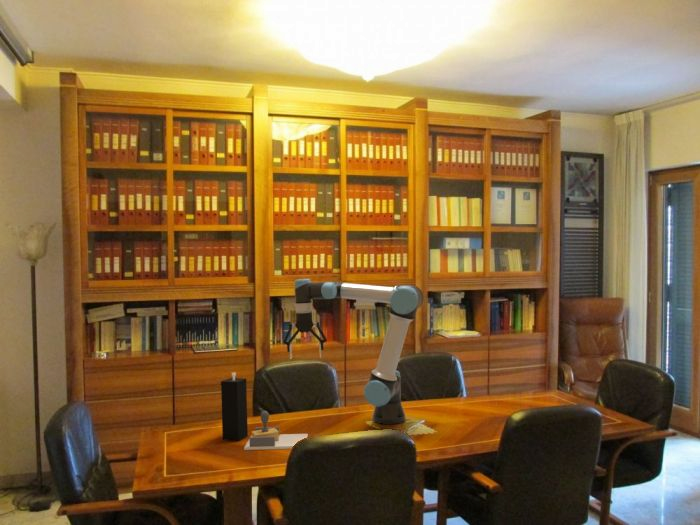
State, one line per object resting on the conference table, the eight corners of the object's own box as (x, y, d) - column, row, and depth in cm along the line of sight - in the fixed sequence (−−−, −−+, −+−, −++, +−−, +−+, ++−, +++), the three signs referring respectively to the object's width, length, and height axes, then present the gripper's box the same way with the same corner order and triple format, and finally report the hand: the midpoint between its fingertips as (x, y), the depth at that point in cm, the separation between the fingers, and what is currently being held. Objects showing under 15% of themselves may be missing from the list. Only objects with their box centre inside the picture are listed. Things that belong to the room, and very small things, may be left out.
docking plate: (307, 436, 233) (307, 425, 233) (304, 448, 217) (304, 436, 217) (251, 437, 233) (251, 426, 233) (244, 450, 217) (244, 438, 217)
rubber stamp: (274, 436, 229) (274, 407, 229) (279, 440, 224) (278, 410, 224) (251, 440, 225) (250, 410, 225) (255, 444, 220) (254, 414, 220)
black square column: (248, 435, 235) (246, 370, 235) (238, 441, 228) (236, 374, 228) (232, 434, 238) (230, 370, 238) (222, 440, 230) (220, 373, 231)
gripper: (330, 310, 257) (332, 355, 257) (277, 312, 256) (279, 358, 256) (330, 311, 250) (332, 358, 250) (276, 314, 249) (278, 360, 249)
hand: (305, 358), depth 253 cm, fingers open, 13 cm apart
